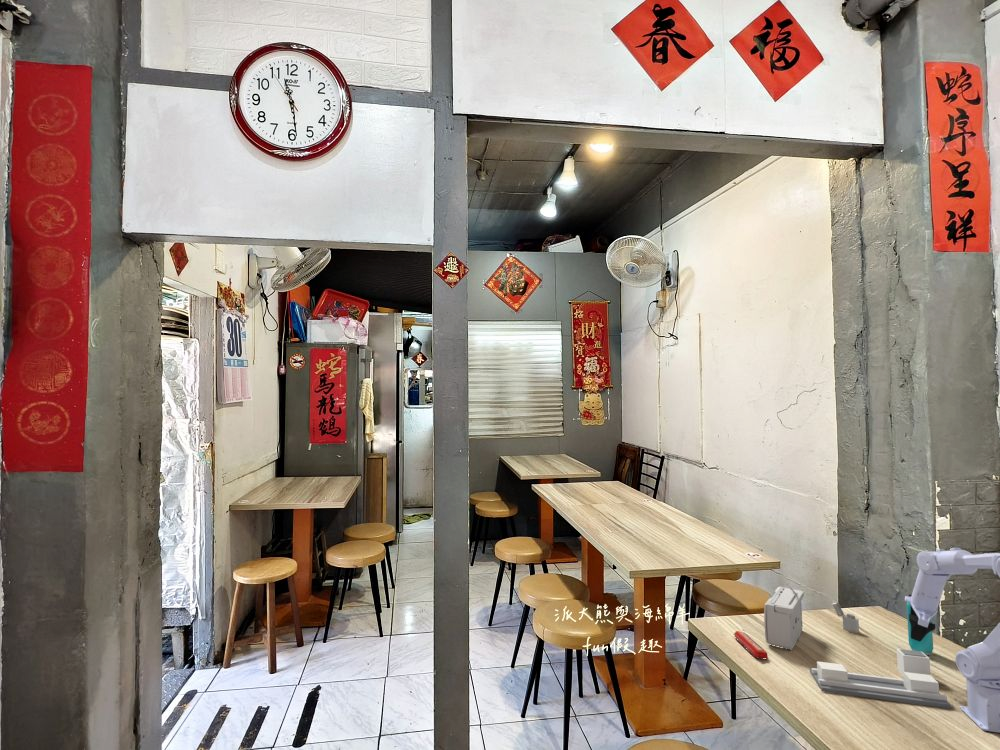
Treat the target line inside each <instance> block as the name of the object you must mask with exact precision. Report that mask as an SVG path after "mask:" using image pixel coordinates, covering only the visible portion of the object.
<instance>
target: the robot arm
mask: <svg viewBox="0 0 1000 750" xmlns="http://www.w3.org/2000/svg"><path fill="white" fill-rule="evenodd" d="M916 564H917V566H918V568H919V571H918V573H917V577H916V580H915V583H914V587H913V589H912V593H911V594H908V595H905V596H904V601H905V602H906V604H907V603H910V606H911V611H910V614H909V621H910V624H911V639H914V640H917V641H919V642H920V641H921V640H922V639H923V638H924V637H925V636H926V634H928V633H929V632H931V631H932V632H933V631H935V630H936V624H935V623H933V622H932V623H930V622H929V621H930V619H931V618H932V619H933V618H934V616H936V615H937V613H938V611H939V608H938V607H939V605H940V601H941V598H942V595H943V592H944V589H945V587H946V583H947V581H948V580H950V578H951V576H953V575H954V576H955V575H973V574H975V573H976V572H977V571H978V569H980V570H981V569H983V570H985V569H989V570H992V571H993V573H994V575H998V577H999V578H1000V552H994V553H993V552H992V553H991V552H990V553H989V552H988V553H980V554H972V553H971V552H970V551H968V550H964V549H962V548H961V547H951V548H950V550H945V549H943V548H942V549H940V548H939V549H938V548H937V550H936V551H931V550H930V551H928V550H923V551H920V552H919V553H918V554H917V556H916ZM954 661H955V664H956V667H957V669H958V671H959V672H960V673H961V675H962V677H964V678H965V679H966V680H965V681H966V694H967V695H966V697H967V698H966V699H967V706H965V705H959V709H960V710H961V711H962V712H963V713H965V715H966V716H968V717H969V719H971V721H973V723H975V724H976V725H977V727H979V729H981V730H983V731H985V732H986V731H987V732H990V733H991V732H992V733H1000V622H998V623H997V625H996V626H995V627H994V628H993V629H992V631H991V632H990V633H989V634H988V635H987V636H986V637H985V638H984V640H982V642H979V643H976V644H973V645H970V646H968V647H967V648H966V649H964V650H963V649H962V650H960V649H959V650H958V651H957V652H956V653H955V660H954Z"/></svg>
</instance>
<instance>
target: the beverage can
mask: <svg viewBox="0 0 1000 750" xmlns="http://www.w3.org/2000/svg"><path fill="white" fill-rule="evenodd" d="M910 611H911V606H910V603H907V602H906V615H907V616H906V617H907V633H908V634H907V636H908V645H909V647H910V649H911V650H912V651H921V652H923V653H924V654H925V655H926V656H931V654H932V652H934V639H933V638H934V637H933V635H934V634H933V631H931V632H929V633H928V634H926V636H925V637H924V638H923V639H922V640H921V641H920V642H919V641H917V640H914V639H911V624H910V621H909V614H910ZM932 620H933V617H932V618H931V619H930V621H929V622H930V623H933V621H932Z"/></svg>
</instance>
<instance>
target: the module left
mask: <svg viewBox="0 0 1000 750" xmlns="http://www.w3.org/2000/svg"><path fill="white" fill-rule="evenodd" d="M816 669H817V675H818V676H819V678H820V679H825V680H833V681H841V682H848V674H847V672H848V670H847V669H846V668H845V667H844V665H843V664H840V663H833V662H824V661H816Z"/></svg>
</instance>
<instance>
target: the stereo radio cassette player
mask: <svg viewBox="0 0 1000 750" xmlns="http://www.w3.org/2000/svg"><path fill="white" fill-rule="evenodd" d="M786 586H788V587H785V586H778V587H777V588H776V589H775V590H774V591H773V593H772V595H770V597H769V598H768V600H767V601H765V604H764V608H763V610H764V611H763V615H764V616H763V617H764V618H763V620H764V621H763V622H764V623H763V624H764V635H765V636H764V637H765V642H766V643H767V644H771V645H775V646H779V647H783V648H787V649H790V650H791V651H793V649H794V647H795V645H796V643H797V641H798V639H799V637H800V635H801V634H802V631H803V612H802V611H803V610H802V609H803V608H802V607H803V605H802V604H803V603H802V600H803V598H804V597H805V592H804V591H802V590H799V589H795V588H792V587H791V586H790V585H789V583H786ZM792 648H793V649H792ZM787 649H786V650H787Z"/></svg>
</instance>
